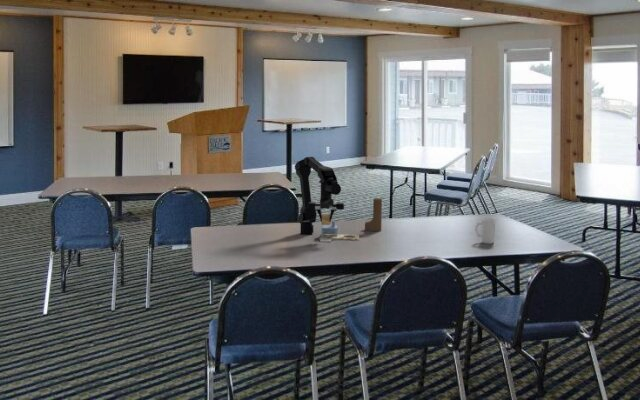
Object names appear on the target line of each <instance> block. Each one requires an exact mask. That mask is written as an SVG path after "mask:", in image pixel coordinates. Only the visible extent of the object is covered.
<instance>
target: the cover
mask: <svg viewBox="0 0 640 400" xmlns="http://www.w3.org/2000/svg"><path fill="white" fill-rule="evenodd" d="M331 222H332V223H331V224H330V225H322V226H321V230H320V231H321V233H320V234H321V237H323V235H324V234H335V237H337V234H339V230H338V229H339V228H338V227H339V225H337V224H336V221H335V220H331Z"/></svg>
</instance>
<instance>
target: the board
mask: <svg viewBox="0 0 640 400" xmlns="http://www.w3.org/2000/svg"><path fill="white" fill-rule="evenodd" d="M321 238H322V239H332V240H331V241H333V240H334V241H335V240H336V241H359V240H360V234H339V233H338V234H337V237H335V234H324V235H323V237H321V233H320V234H319V237H318V240H320V239H321Z"/></svg>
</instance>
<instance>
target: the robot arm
mask: <svg viewBox="0 0 640 400" xmlns="http://www.w3.org/2000/svg"><path fill="white" fill-rule="evenodd" d="M294 169H295V170H294V171H295V173H296V176H297V177H298V178H299V185H300V193H301V203H302V206H301V207H300V210H299V212H300V213H299V215H298V217H297V219H296V220H297V223H298V224H300V233H299V235H306V236H307V235H313V234H314V231H315V229H314V224H315V223H316V219H317V215H318V216H319V219H320V222H321V223H322V214H323V213H322V212H323V211H322V210H324V209H327V210H329V209H330V213H329V214H330V223H331V222H332V219H333V216H334V213H335V212H337V211H338V210H345V203H344V202H336V203H334V201H335V200H334V198H333V197H332V195H334V196H337V195H339V194H340V193H341V192H342V187H341V185H340V184H339V181H338V178H337V176H336V174H335V171H334V169H333V168H332V167H330V166H326V165H324V164H322V163H321V162H320V161H319V160H317V159H316V157H315V156H306V157H304V158H302V159H301V160H299V161H297V162H296V163H295V164H294ZM312 169H313V171H314V172H316V173H317V177H318V178H319V179H320V180H319V181H318V183H320V199H319V203H317V202H316V201H312V196H311V195H312V194H311V186H310V179H309V178H310V176H311V172H312Z"/></svg>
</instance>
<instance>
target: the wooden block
mask: <svg viewBox="0 0 640 400" xmlns="http://www.w3.org/2000/svg"><path fill="white" fill-rule="evenodd" d="M372 202H373V203H372V205H373V207H372V208H373V209H372V212H373V213H372V216H373V217H372V219H371V220H368V221H365V222H364V231H365V232H381V231H382V225H383V224H382V215H383V211H382V210H383V208H382V206H383V198H381V197H380V198H379V197H374V198H373V201H372Z"/></svg>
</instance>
